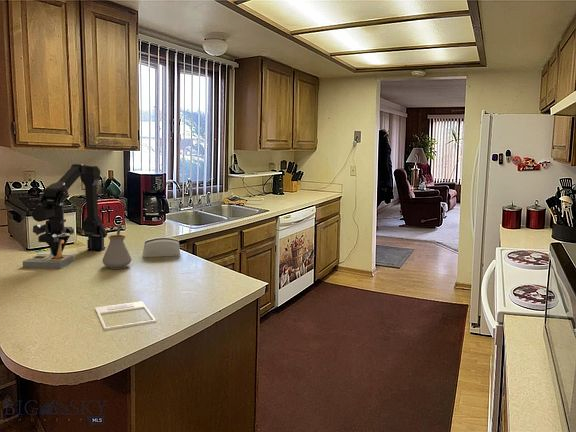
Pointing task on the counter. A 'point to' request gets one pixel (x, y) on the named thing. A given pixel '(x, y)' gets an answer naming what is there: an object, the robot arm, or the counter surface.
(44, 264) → the block
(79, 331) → the counter surface
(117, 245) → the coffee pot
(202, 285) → the counter surface
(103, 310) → the photo frame
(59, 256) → the jaw orange
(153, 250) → the grey arched block
